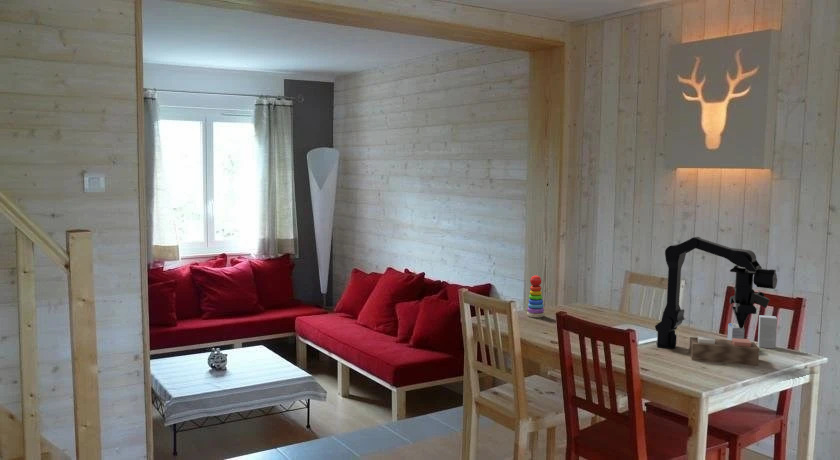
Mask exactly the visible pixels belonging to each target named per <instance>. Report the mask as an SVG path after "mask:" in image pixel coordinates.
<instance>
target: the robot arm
mask: <svg viewBox="0 0 840 460" xmlns="http://www.w3.org/2000/svg"><path fill="white" fill-rule="evenodd" d="M695 249H696V250H699V251H703V252H706V253H709V254H712V255H715V256H718V257H721V258H724V259H726V260H727V261H729V262H730V263H732V264H733V265H734V266H733V268H731V269H729V272H731V273H735V280H734V281H735V283H734V284H735V285H734V286H733V290H734V295H732V296H730V297H729V304H730V305H733V304H734V306H732V307H731V308H732V310H733V314H734V317H735V319H736V321H737V324H738V325H739V328H744V326H745V323H746V321H747V318H748V316H749V315H756V314H757V310H758V309H757V307H756V306H755V305H756V304H757V305H759V306H761V307H762V308H765V309H766V308H767V307H768V306H769V304H770V303H769V302H770V300H771V299H770V298H768V297H766V296H765V293H764V292H763V291H758V292H755V290H754V288H753V286H756V288H762V289H769V290H770V289H771V290H775V289H777V288H776V287H777V284H778V278H777V269H773V268H771V269H766V268H762V266H761V265H760V263H759V262H758V260H757V255H756V253H755V252H754V251H752V250H750V249H744V248H733V247H729V246H725V245H722V244H719V243H716V242H714V241H709V240H707V239H704V238H701V237H699V236H694V237H690V238H689V239H688V240H686V241H683V242H681V243H676V244H672V245H669V246H667V248H665V249H664V256H665V262H666V266H667V268H668V273H667V291H666V305H665V307H664V310H663V312H662V315H661V316H662V317H661V321H660V322H658V323H657V324H655V326H654V328H655V331H656V333H657V334H656V336H657V337H656V347H657V348H665V349H676V346H677V338H678V337H677V334H676V331H675V330H677V329H678V327H679V326H680V325H681V324H682V323H683V321H684V320H685V316H684V314H685V309H684V308H683V309H682V308H681V307H680V306H681V305H680V296H681V295H680V294H681V277H682V268H683V264H684V262H685V260H686V255H687V254H688V253H690V252H691V251H693V250H695Z"/></svg>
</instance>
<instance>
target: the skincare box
mask: <svg viewBox="0 0 840 460" xmlns="http://www.w3.org/2000/svg"><path fill="white" fill-rule="evenodd" d="M777 329H778V318H777V316H776V315H775V316H774V315H762V314H761V315H760V314H759V315H758V330H757V331H758V333H757V347H758V348H763V349H764V348H765V349H776V346H777V334H778V333H777Z"/></svg>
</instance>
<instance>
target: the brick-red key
mask: <svg viewBox="0 0 840 460" xmlns="http://www.w3.org/2000/svg"><path fill="white" fill-rule="evenodd" d="M751 342H752V341H751V340H750V339H748V338H744V339H738V338H732V344H733V346H743V347H751Z"/></svg>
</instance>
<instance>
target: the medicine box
mask: <svg viewBox="0 0 840 460" xmlns="http://www.w3.org/2000/svg"><path fill="white" fill-rule="evenodd" d="M726 338H727V339H726V340H732V338H738V339H745V327H743V328H739V325H738V323H734V322H733V323H730V322H729V323H728V325H727V337H726Z"/></svg>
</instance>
